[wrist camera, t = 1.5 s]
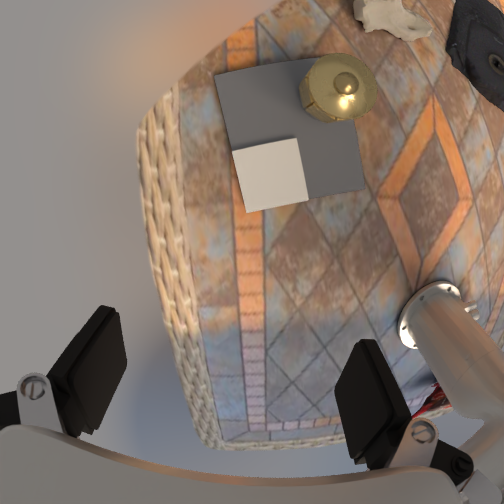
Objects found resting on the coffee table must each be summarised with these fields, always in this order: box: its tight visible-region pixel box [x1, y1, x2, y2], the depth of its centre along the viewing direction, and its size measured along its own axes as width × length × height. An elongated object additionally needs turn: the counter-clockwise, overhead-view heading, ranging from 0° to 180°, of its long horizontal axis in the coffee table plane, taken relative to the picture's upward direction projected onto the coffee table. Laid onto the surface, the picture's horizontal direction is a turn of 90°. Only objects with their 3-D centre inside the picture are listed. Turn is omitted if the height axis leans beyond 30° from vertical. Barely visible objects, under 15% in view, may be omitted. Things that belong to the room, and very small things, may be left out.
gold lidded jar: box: [298, 53, 377, 123], centre depth 21 cm, size 6×6×6 cm
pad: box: [232, 138, 309, 213], centre depth 30 cm, size 7×7×1 cm
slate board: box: [214, 57, 365, 199], centre depth 28 cm, size 14×16×1 cm
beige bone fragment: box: [352, 0, 432, 42], centre depth 20 cm, size 6×10×4 cm, turn 99°
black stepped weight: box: [446, 0, 504, 111], centre depth 19 cm, size 15×22×5 cm
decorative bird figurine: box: [411, 382, 452, 419], centre depth 40 cm, size 3×18×10 cm, turn 110°
